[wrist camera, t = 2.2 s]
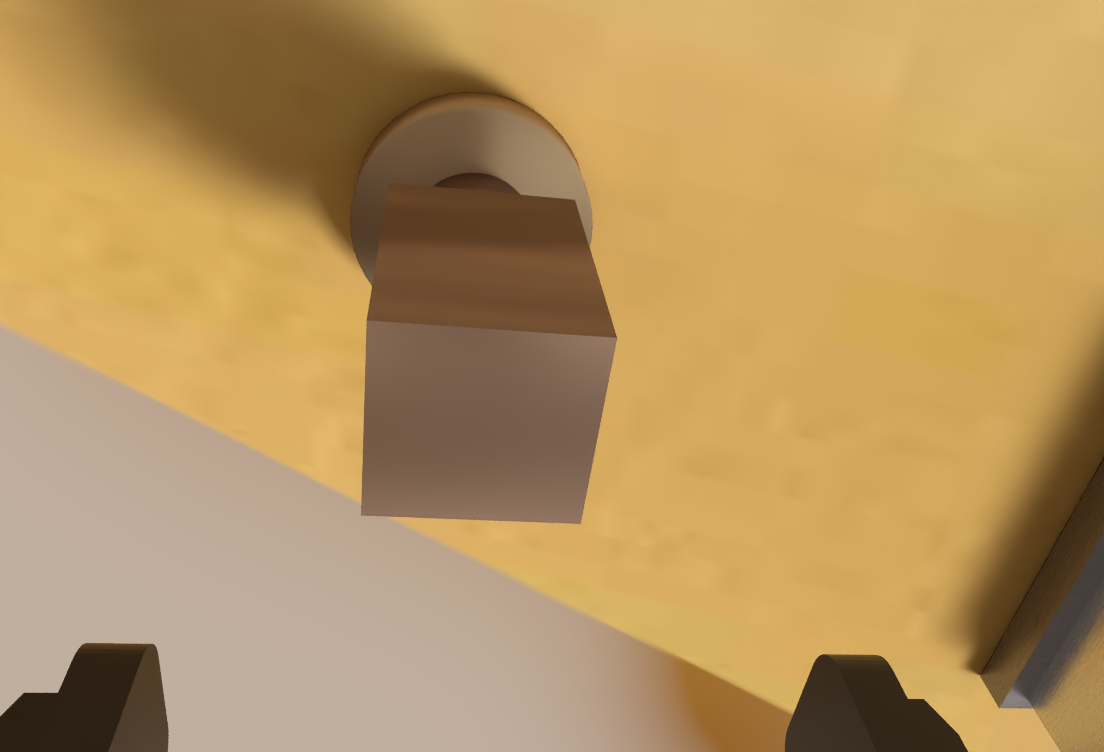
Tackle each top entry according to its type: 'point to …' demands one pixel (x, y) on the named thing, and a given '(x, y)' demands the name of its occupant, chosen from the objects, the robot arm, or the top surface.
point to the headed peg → (479, 316)
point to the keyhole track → (1061, 636)
